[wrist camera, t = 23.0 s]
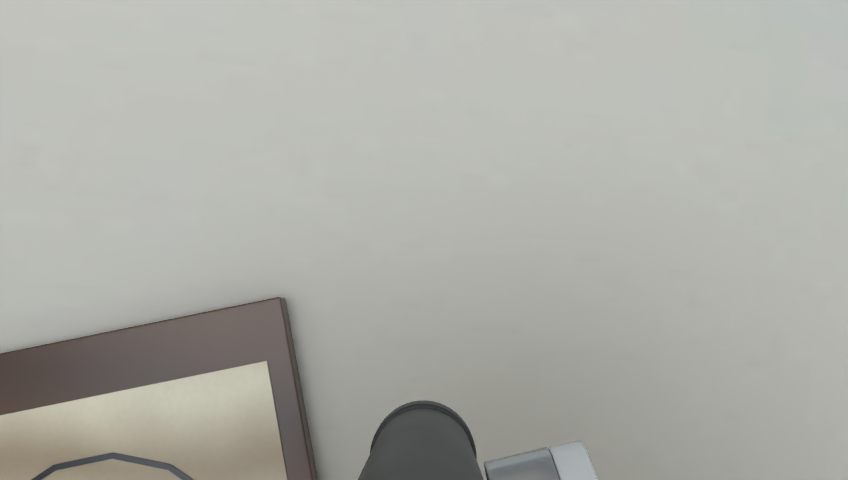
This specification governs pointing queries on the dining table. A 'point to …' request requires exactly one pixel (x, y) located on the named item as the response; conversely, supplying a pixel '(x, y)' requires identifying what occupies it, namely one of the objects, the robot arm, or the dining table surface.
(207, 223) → the dining table surface
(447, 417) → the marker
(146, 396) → the brown framed board
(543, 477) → the robot arm
